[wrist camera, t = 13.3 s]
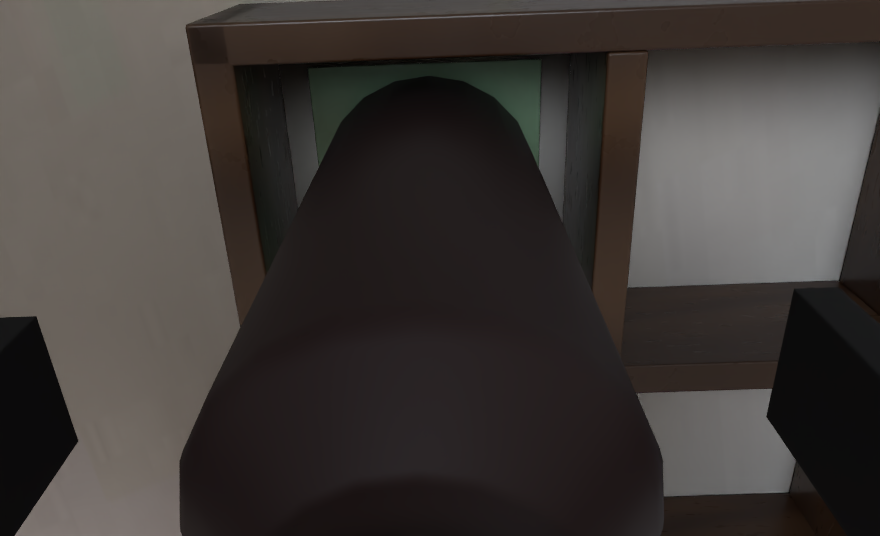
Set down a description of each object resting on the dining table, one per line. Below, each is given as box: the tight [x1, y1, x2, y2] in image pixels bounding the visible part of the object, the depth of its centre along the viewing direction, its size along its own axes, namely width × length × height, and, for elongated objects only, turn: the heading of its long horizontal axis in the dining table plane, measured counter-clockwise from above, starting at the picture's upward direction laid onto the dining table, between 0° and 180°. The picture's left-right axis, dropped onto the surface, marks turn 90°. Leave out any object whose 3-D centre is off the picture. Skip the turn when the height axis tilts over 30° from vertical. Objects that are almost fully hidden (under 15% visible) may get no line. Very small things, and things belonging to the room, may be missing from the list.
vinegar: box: [180, 76, 664, 536], centre depth 14 cm, size 7×7×20 cm
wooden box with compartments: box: [186, 0, 880, 536], centre depth 23 cm, size 21×21×5 cm
